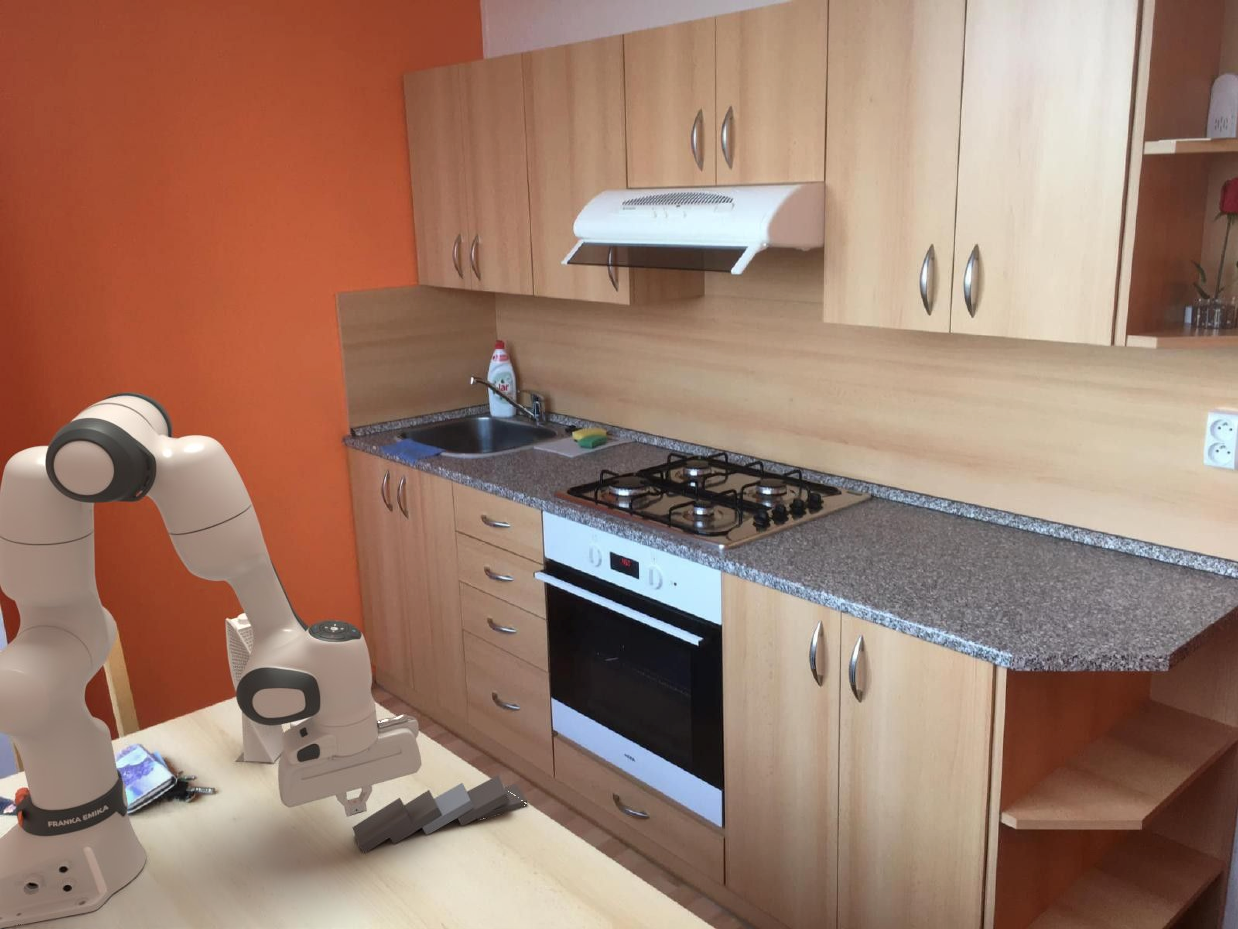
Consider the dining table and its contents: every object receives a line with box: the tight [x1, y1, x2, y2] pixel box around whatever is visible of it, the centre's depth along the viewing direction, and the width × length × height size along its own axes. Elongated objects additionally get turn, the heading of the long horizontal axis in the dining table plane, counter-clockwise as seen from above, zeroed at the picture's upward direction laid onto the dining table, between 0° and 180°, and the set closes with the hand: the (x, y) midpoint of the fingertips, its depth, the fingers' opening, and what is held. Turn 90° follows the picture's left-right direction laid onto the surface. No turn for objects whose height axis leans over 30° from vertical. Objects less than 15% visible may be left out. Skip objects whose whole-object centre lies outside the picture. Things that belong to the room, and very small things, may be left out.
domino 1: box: [351, 797, 412, 854], centre depth 155 cm, size 2×5×8 cm
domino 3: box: [421, 782, 474, 836], centre depth 159 cm, size 2×5×8 cm
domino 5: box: [477, 783, 528, 821], centre depth 163 cm, size 2×5×8 cm
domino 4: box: [457, 774, 510, 827], centre depth 160 cm, size 2×5×8 cm
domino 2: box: [389, 789, 442, 845], centre depth 157 cm, size 2×5×8 cm
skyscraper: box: [224, 612, 285, 765], centre depth 175 cm, size 8×8×28 cm
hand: (356, 812), depth 153 cm, fingers closed
